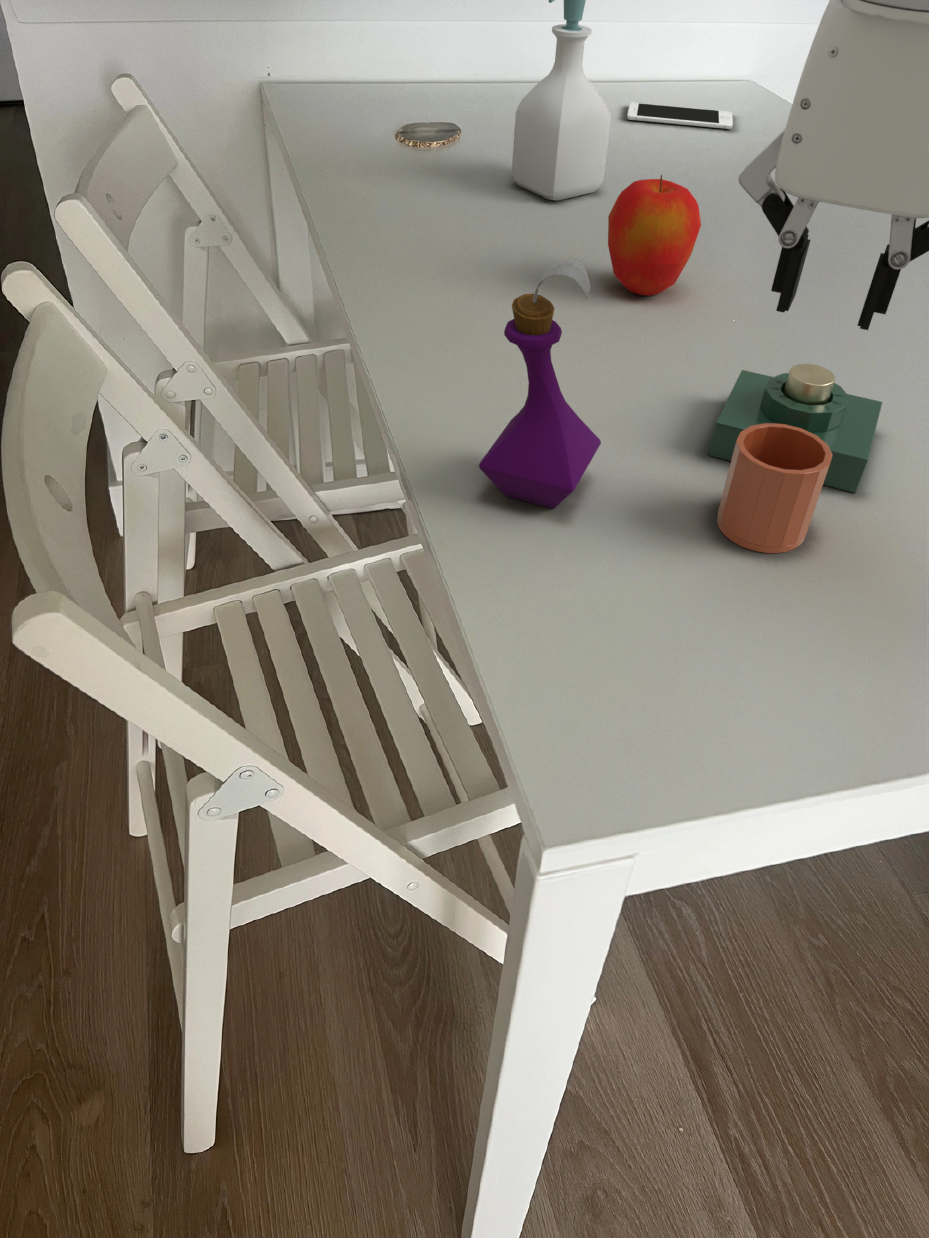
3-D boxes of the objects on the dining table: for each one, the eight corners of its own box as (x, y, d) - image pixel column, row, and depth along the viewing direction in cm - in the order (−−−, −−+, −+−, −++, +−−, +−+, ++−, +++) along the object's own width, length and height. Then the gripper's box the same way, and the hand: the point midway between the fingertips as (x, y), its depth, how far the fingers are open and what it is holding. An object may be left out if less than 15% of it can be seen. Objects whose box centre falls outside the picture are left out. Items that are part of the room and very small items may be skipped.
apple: (590, 299, 104) (605, 181, 96) (611, 268, 110) (627, 154, 102) (677, 316, 102) (701, 196, 94) (693, 282, 108) (716, 168, 100)
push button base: (870, 434, 86) (889, 382, 82) (855, 493, 79) (875, 439, 75) (733, 401, 89) (746, 350, 86) (707, 455, 82) (720, 402, 79)
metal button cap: (831, 392, 82) (838, 369, 80) (824, 412, 79) (831, 389, 78) (787, 382, 82) (793, 359, 81) (779, 401, 80) (785, 378, 79)
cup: (811, 515, 76) (838, 436, 72) (797, 563, 72) (824, 483, 67) (727, 492, 78) (747, 415, 73) (707, 538, 74) (728, 458, 69)
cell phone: (732, 130, 150) (733, 125, 150) (626, 120, 152) (627, 115, 152) (731, 115, 156) (731, 111, 156) (629, 106, 158) (629, 102, 157)
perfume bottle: (475, 502, 76) (488, 273, 64) (509, 454, 81) (526, 234, 69) (568, 526, 74) (599, 296, 62) (596, 475, 79) (630, 253, 67)
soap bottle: (504, 184, 129) (517, -21, 114) (560, 172, 133) (579, -27, 118) (551, 207, 123) (572, -5, 108) (608, 194, 128) (635, -12, 113)
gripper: (1099, -14, 51) (966, 318, 64) (775, -50, 56) (709, 266, 68) (1105, 11, 46) (959, 367, 58) (747, -30, 51) (681, 307, 63)
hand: (825, 309), depth 63 cm, fingers open, 4 cm apart
